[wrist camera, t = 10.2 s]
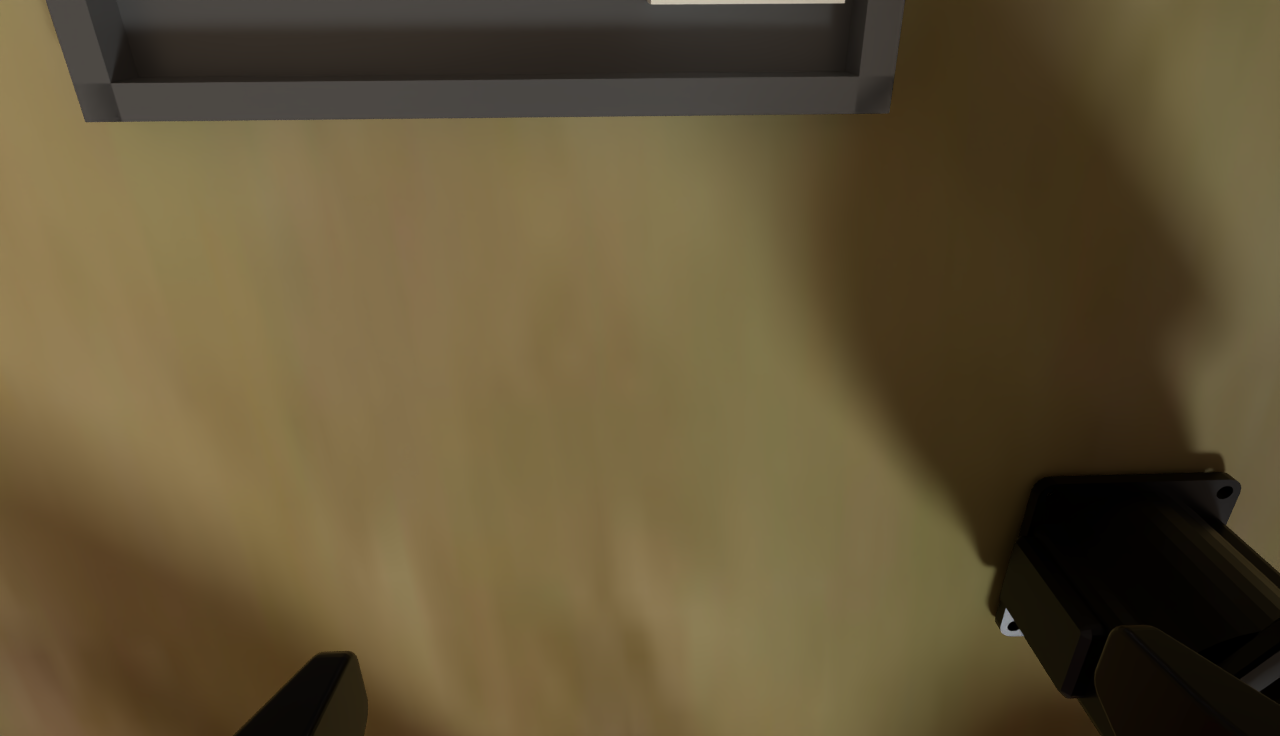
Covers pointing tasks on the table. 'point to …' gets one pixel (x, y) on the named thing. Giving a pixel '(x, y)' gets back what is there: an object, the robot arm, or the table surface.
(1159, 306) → the table surface
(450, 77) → the condiment tray
